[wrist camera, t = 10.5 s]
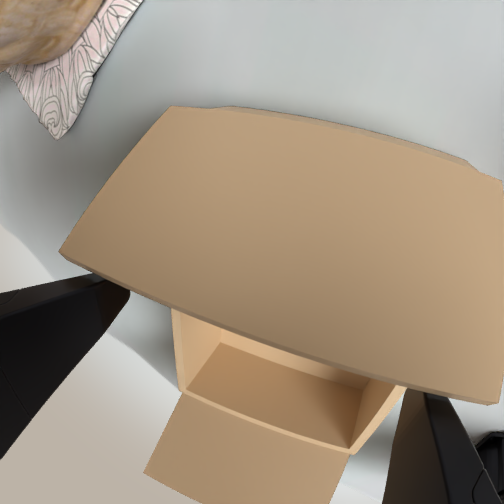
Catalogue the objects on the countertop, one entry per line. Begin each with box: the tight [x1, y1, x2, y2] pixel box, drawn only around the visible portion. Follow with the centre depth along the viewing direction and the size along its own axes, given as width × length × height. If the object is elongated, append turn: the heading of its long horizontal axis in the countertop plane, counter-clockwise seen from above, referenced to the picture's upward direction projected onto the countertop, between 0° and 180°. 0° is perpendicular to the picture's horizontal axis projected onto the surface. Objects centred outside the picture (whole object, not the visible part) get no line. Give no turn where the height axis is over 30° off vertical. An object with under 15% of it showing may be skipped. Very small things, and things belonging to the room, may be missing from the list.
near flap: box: [58, 106, 504, 405], centre depth 9 cm, size 7×12×1 cm
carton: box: [171, 106, 479, 455], centre depth 17 cm, size 18×13×6 cm
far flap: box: [143, 393, 350, 504], centre depth 18 cm, size 7×12×1 cm
